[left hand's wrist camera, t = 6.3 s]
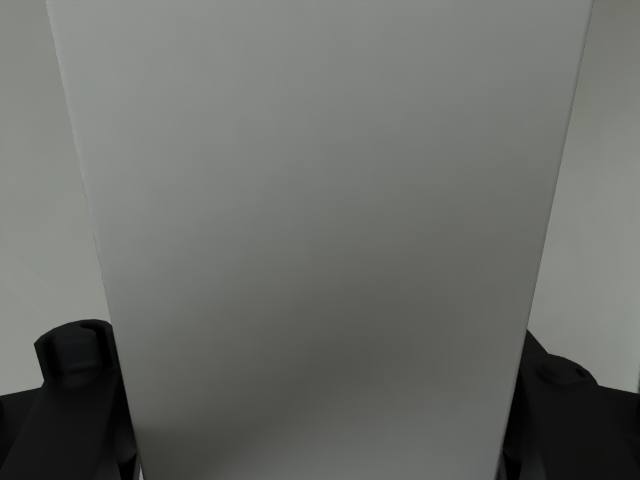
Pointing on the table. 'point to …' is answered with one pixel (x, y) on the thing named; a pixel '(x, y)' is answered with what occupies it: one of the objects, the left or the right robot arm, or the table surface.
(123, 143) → the bar
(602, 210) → the table surface
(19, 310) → the table surface
